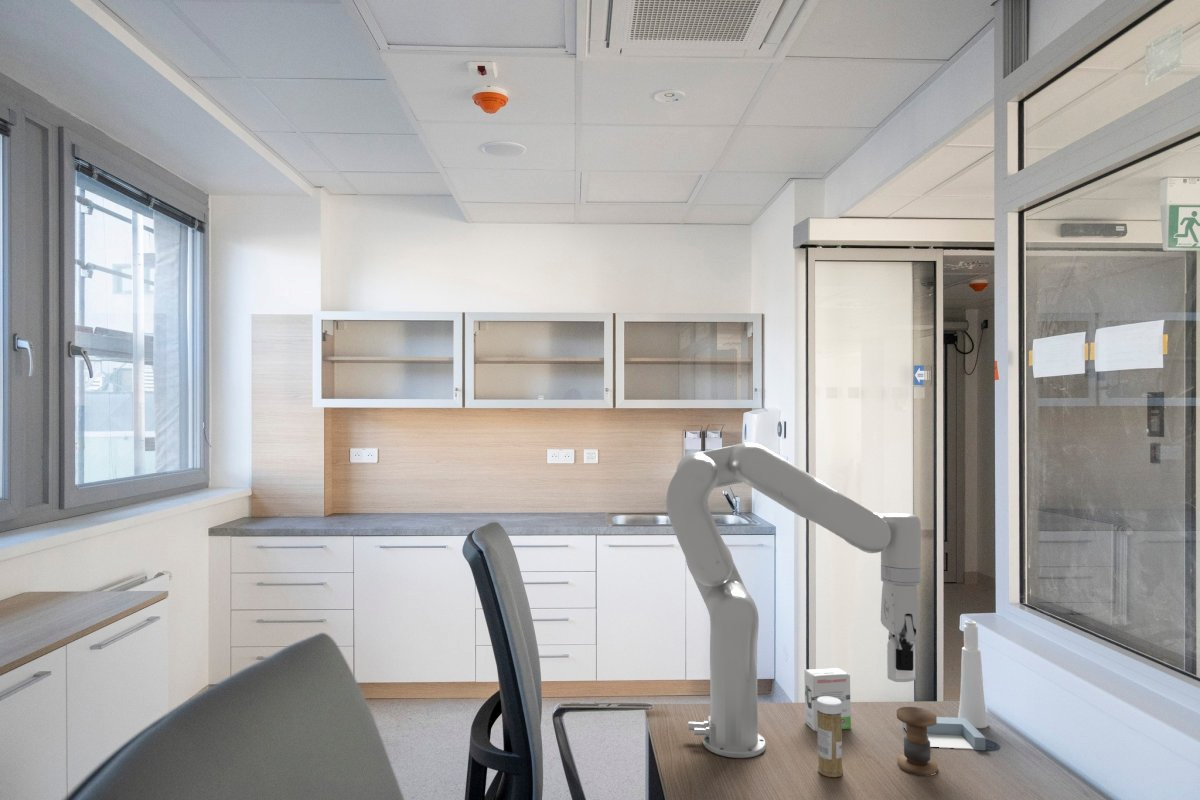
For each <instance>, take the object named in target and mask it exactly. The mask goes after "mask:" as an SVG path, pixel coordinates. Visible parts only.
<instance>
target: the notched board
mask: <svg viewBox="0 0 1200 800" xmlns="http://www.w3.org/2000/svg"><path fill="white" fill-rule="evenodd" d="M903 726H904V728H905V729H906V723H904V722H902V727H903ZM904 728H903V729H904ZM927 739H928V740H929V741H930V747H939V748H938V749H950V748H954V750H975V751H986V737H985V736H984V735H983V734H982V733H981V732H980V730H979V729H978V728H975V727H974V726H973V725H972V724H971V723H970V722H969V721H968V720H967V719H966V718H958V717H950V716H949V717H947V716H946V717H945V716H944V717H943V716H937V723H936V724H935V725H933V726H927Z"/></svg>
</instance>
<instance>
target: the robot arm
mask: <svg viewBox="0 0 1200 800" xmlns="http://www.w3.org/2000/svg"><path fill="white" fill-rule="evenodd" d="M741 483H744V484H746V485H748V486H749V487H751V488H752V489H754V490H756V491H758V492H759V493H761V494H762V495H764V496H766V497H767V498H769V499H771V500H772V501H774V502H776V503H777V504H778V505H780V506H782V507H784V508H786V509H787V510H789V511H790V512H792V513H795V514H796V515H797V516H799V517H801V518H803V519H805V520H809V521H810V522H813V523H814V524H817V525H818V526H821V527H822V528H824V529H826V530H828V531H829V532H831V533H833V534H834V535H835V536H837V537H839V538H841V539H843V540H844V541H845V542H846V543H848V545H851V546H853V547H854V548H856V549H858V550H860V551H862V552H865V553H867V554H878V553H880V581H881V582H882V586H881V587H882V588H881V599H880V601H881V603H880V623H881V625H882V626H883V627H885V628H886V630H887V631H888V641H889V640H890V639H891V638H893V637H895V635H896V634H897V646H898V649H896V669H897V670H906V671H912V670H913V650H914V647H913V644H914V643H916V637H915V636H917V635H918V634H919V628H920V627H919V625H920V624H919V623H920V621H919V618H920V617H919V615H920V613H919V595H918V586H919V585H921V584H922V568H921V567H922V563H921V562H922V558H921V557H922V556H921V555H922V551H921V550H922V543H921V542H922V535H921V534H922V533H921V531H922V527H921V526H922V525H921V520H920V518H919V516H917V515H915V514H913V513H905V512H888V513H883V512H882V513H879V512H873V511H871V510H869V509H868V508H866V507H865V506H862V505H861V504H860V503H858V502H856V501H854V500H852V499H851V498H849V497H847V496H845V495H844V494H842V493H841V492H839V491H838V490H835V489H834V488H832V487H831V486H829V485H828V484H826V483H825V482H824V481H822V480H821V479H819V478H817V477H816V476H813V475H812V474H811V473H809V472H807V471H806V470H803V469H802V468H800V467H799V466H797V465H795V464H793V463H792V462H790V461H789V460H787V459H785V458H783V457H782V456H781V455H778V454H777V453H775V452H773V451H772V450H771V449H768V448H767V447H765V446H763V445H761V444H759V443H756V442H755V443H754V442H742V443H737V444H734V445H729V446H724V447H720V448H714V449H710V450H709V449H708V450H704V451H697V452H693V453H689V454H686V455H685V456H684V457H682V458H681V459H680V461H679V463H678V465H677V467H676V472H675V473H674V474H673V476H672V478H671V479H670V482H669V484H668V488H667V491H666V492H667V493H666V499H665V503H666V504H665V505H666V511H667V516H668V519H669V521H670V524H671V527H672V529H673V531H674V534H675V537H676V539H677V541H678V544H679V546H680V548H681V551H682V553H683V556H684V557H685V563H686V565H687V568H688V570H689V572H690V575H691V576H692V578H693V580H694V583H695V584H696V586H697V589H698V591H699V593H700V596H701V598H702V599H703V602H704V604H705V606H706V609H707V612H708V615H709V621H710V623H709V625H710V635H709V637H710V638H709V668H710V669H709V676H710V677H709V679H710V683H709V684H710V686H709V688H710V689H709V690H710V691H709V692H710V694H709V695H710V697H709V698H710V700H709V701H710V708H709V709H710V710H709V711H710V715H708V716H707V717H708V720H703V721H700V722H699V721H695V720H694V721H693V720H689V721H688V723H687V725H688V726H687V727H688V728H687V729H688V732H694V736H702V742H703V743H702V744H703V746H704V747H705V748H706V749H707V750H708V751H709V752H711V753H714V754H716V755H719V756H721V757H727V758H735V759H745V758H746V759H747V758H752V757H756V756H759V755H761V754H763V752H764V751H765V750H766V748H767V744H766V739H765V737H763V735H761V734H760V733H759V732H758V731H759V728H758V726H759V724H758V723H759V722H758V717H759V716H758V715H759V714H758V711H759V710H758V639H759V638H758V637H759V625H760V624H759V622H760V621H759V620H760V618H759V612H758V608H757V605H756V602H755V601H754V599H753V598H752V596H751V594H750V592H748V590H747V588H746V586H745V584H744V582H743V580H742V578H741V575H740V574H739V571H738V569H737V567H736V564H735V562H734V560H733V555H732V553H731V551H730V549H729V547H728V546H727V544H726V543H725V541H724V539H723V537H722V535H721V533H720V530H719V529H718V527H717V524H716V522H715V519H714V517H713V514H712V512H711V510H710V508H709V497H710V494H711V493H712V491H713V490H714V489H716V488H721V487H722V488H723V487H727V486H733V485H736V484H741ZM901 631H905V632H906V634H901ZM901 637H905V639H903V640H902V639H901Z"/></svg>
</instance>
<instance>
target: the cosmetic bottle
mask: <svg viewBox="0 0 1200 800" xmlns="http://www.w3.org/2000/svg"><path fill="white" fill-rule="evenodd" d="M976 625H977V622H976V621H973V620H965V621H964V625H963V647H961V660H960V661H961V663H960V665H961V669H960V692H959V693H960V694H959V697H960V698H959V707H958V708H959V709H958V714H957V718H966V719H967V720H968V721H969V722H970V723H971V724H972V725H973V726H974V727H975V728H976V729H985V728H988V727H989V720H988V717H987V711H986V703H985V693H984V692H985V691H984V683H983V682H984V681H983V679H984V678H983V665H982V653H981V649H980V648H979V633H978V632H979V631H978V630H979V628H978V625H977V626H976Z"/></svg>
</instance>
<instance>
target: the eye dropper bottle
mask: <svg viewBox="0 0 1200 800" xmlns="http://www.w3.org/2000/svg"><path fill="white" fill-rule="evenodd" d="M901 634H906V632H905V631H901ZM901 639H902V640H903V639H905V637H901ZM886 647H887V650H886V653H887V657H886V658H887V659H886V661H887V662H886V663H887V669H886V670H887V671H886V672H887V679H888V680H890V681H893V682H896V683H909V682H912V681H915V680H916V674H917V673H916V642H914V644H913V647H914V650H913V670H912V671H906V670H897V669H896V649H898V646H897V634H896V635H895V637H893V638H891V639H890V640H889V639H888V641H887V645H886Z"/></svg>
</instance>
